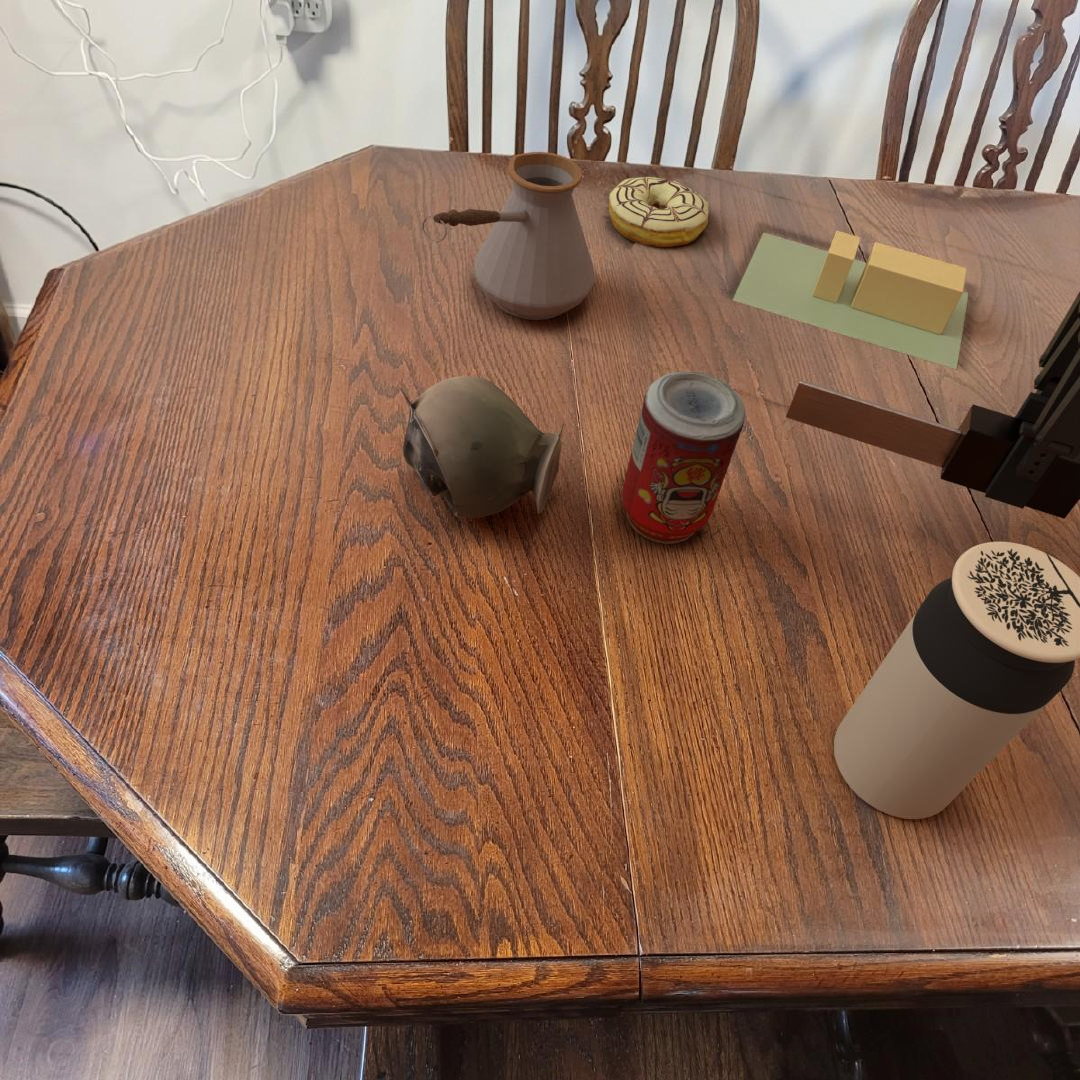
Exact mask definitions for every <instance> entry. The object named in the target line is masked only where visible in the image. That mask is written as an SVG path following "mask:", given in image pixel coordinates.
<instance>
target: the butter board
mask: <svg viewBox="0 0 1080 1080" xmlns="http://www.w3.org/2000/svg"><path fill="white" fill-rule="evenodd" d="M828 251H829V250H825V249H821V248H817V247H814V246H811V245H807V244H804V243H801V242H798V241H794V240H790V239H787V238H783V237H781V236H777V235H774V234H770V233H767V232H763V233H762V235H761V236H760V239H759V241H758V243H757V246H756V247H755V250H754V252H753V254H752V257H751V258H750V261H749V263H748V265H747V267H746V270H745V271H744V274H743V276H742V278H741V280H740V283H739V285H738V287H737V289H736V291H735V293H734V295H733V298H732V301H733V302H737V303H739V304H743V305H745V306H748V307H753V308H756V309H758V310H762V311H765V312H768V313H772V314H775V315H778V316H781V317H785V318H787V319H791V320H794V321H798V322H801V323H805V324H808V325H811V326H814V327H817V328H820V329H823V330H827V331H830V332H833V333H835V334H840V335H842V336H846V337H850V338H853V339H856V340H859V341H862V342H866V343H869V344H873V345H875V346H878V347H881V348H885V349H888V350H892V351H895V352H898V353H902V354H905V355H908V356H911V357H914V358H917V359H920V360H924V361H927V362H930V363H933V364H937V365H940V366H943V367H946V368H950V369H953V370H958V363H959V358H960V354H961V353H960V352H961V345H962V340H963V334H964V333H963V332H964V328H965V327H964V326H965V320H966V314H967V307H968V300H969V292H967V291H964V290H963V293H962V295H961V297H960V299H959V301H958V303H957V305H956V307H955V309H954V311H953V313H952V315H951V317H950V319H949V320H948V322H947V324H946V326H945V328H944V330H943V332H942V334H941V335H939V334H936V333H932V332H929V331H926V330H923V329H919V328H916V327H913V326H909V325H906V324H903V323H900V322H896V321H893V320H890V319H886V318H883V317H880V316H877V315H873V314H870V313H867V312H863V311H860V310H857V309H854V308H851V304H852V301H853V298H854V294H855V291H856V288H857V285H858V282H859V280H860V277H861V275H862V272H863V270H864V268H865V265H866V263H867V261H866V262H865V261H862V260H858V259H854V261H853V264H852V266H851V269H850V271H849V274H848V276H847V279H846V281H845V284H844V286H843V289H842V291H841V294H840V296H839V299H838V301H837V303H834V302H830V301H827V300H824V299H820V298H817V297H814V296H812V295H813V292H814V289H815V287H816V284H817V281H818V278H819V275H820V273H821V270H822V267H823V265H824V262H825V259H826V257H827V254H828Z"/></svg>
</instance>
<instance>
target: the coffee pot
mask: <svg viewBox="0 0 1080 1080" xmlns="http://www.w3.org/2000/svg"><path fill="white" fill-rule="evenodd" d="M507 173H508V175H509V177H510V179H511V180H512V184H513V190H511V193H510V195H509V196H508V198H507V200H506V202H505V203H504V205H503V207H502V208H501V210H500V211H497V210H487V209H486V210H485V209H475V208H474V209H473V208H467V209H465V210H462V211H458V210H457V209H450V210H448V211H446V212H445V211H443V212H439V213H437V214H434V215H429V216H426V217H424V219H423V220H422V222H421V231H422V233H423V235H424V236H425V237H426V239H428V240H429V241H430V242H436V243H439V242H441V241H444V240H445V239H446V237H447V235H448V233H447V232H448V227H447V225H449V226H450V227H457V226H458V225H460V224H461V225H465V226H467V227H468V226H469V227H474V226H480V225H487V224H493V225H492V226H491V228H490V230H489V231H488V233H487V235H486V237H485V239H484V241H483V242H482V244H481V246H480V248H479V249H478V252H477V253H476V256H475V258H474V259H473V274H474V277H475V279H476V281H477V284H478V286H479V288H480V290H481V291H482V293H483V295H485V296H486V297H487V298H488V299H489V300H490V301H491V302H492V303H494V304H495V305H496V306H497V307H498V308H499V309H500V310H502V311H504V312H505V313H507V314H509V315H511V316H514V317H516V318H521V319H524V320H531V321H534V320H535V321H542V320H543V321H544V320H550V319H553V318H556V317H559V316H561V315H563V314H564V313H567V312H568V311H570V310H571V309H574V308H575V307H576V306H578V305H580V304H581V303H582V302H583V301H584V300H585V298H586V297H587V296H588V295H589V293H590V292H591V291H592V289H593V286H594V283H595V279H596V275H595V274H596V273H595V268H594V264H593V261H592V257H591V254H590V250H589V248H588V245H587V240H586V238H585V234H584V231H583V227H582V224H581V221H580V217H579V213H578V211H577V208H576V204H575V201H574V198H573V193H574V189H575V188H577V187H578V186H579V185H580V184H581V182H582V179H583V174H582V173H583V172H582V169H581V168H580V166H579V165H578V164H577V163H576V162H575V161H573V160H572V159H569V158H568V157H567V156H564V155H560V154H557V153H553V152H548V151H547V152H546V151H531V152H530V151H529V152H524V153H523V152H522V153H518V154H514V155H512V156H511V157H510V160H509V162H508V165H507ZM430 218H433V221H434V223H437V224H440V225H442V226H443V227H444V234H443V236H442V237H441V238H440V239H433V238H431V236H429V235H427V232H426V230H425V223H426V222H427V219H430Z"/></svg>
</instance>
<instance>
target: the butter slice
mask: <svg viewBox="0 0 1080 1080" xmlns="http://www.w3.org/2000/svg"><path fill="white" fill-rule="evenodd" d="M861 239H862V238H861V236H857V235H854V234H851V233H846V232H843V231H840V230H835V233H834V235H833V238H832V241H831V243H830V246H829V249H828V250H827V251H828V254H827V257H826V259H825V262H824V265H823V267H822V270H821V273H820V275H819V278H818V281H817V284H816V287H815V289H814V292H813V295H812V296H814V297H817V298H820V299H824V300H827V301H830V302H834V303H837V301H838V299H839V296H840V294H841V291H842V289H843V286H844V284H845V281H846V279H847V276H848V274H849V271H850V269H851V266H852V264H853V261H854V259H855V258H856V255H857V252H858V249H859V246H860V242H861ZM855 260H856V259H855Z"/></svg>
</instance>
